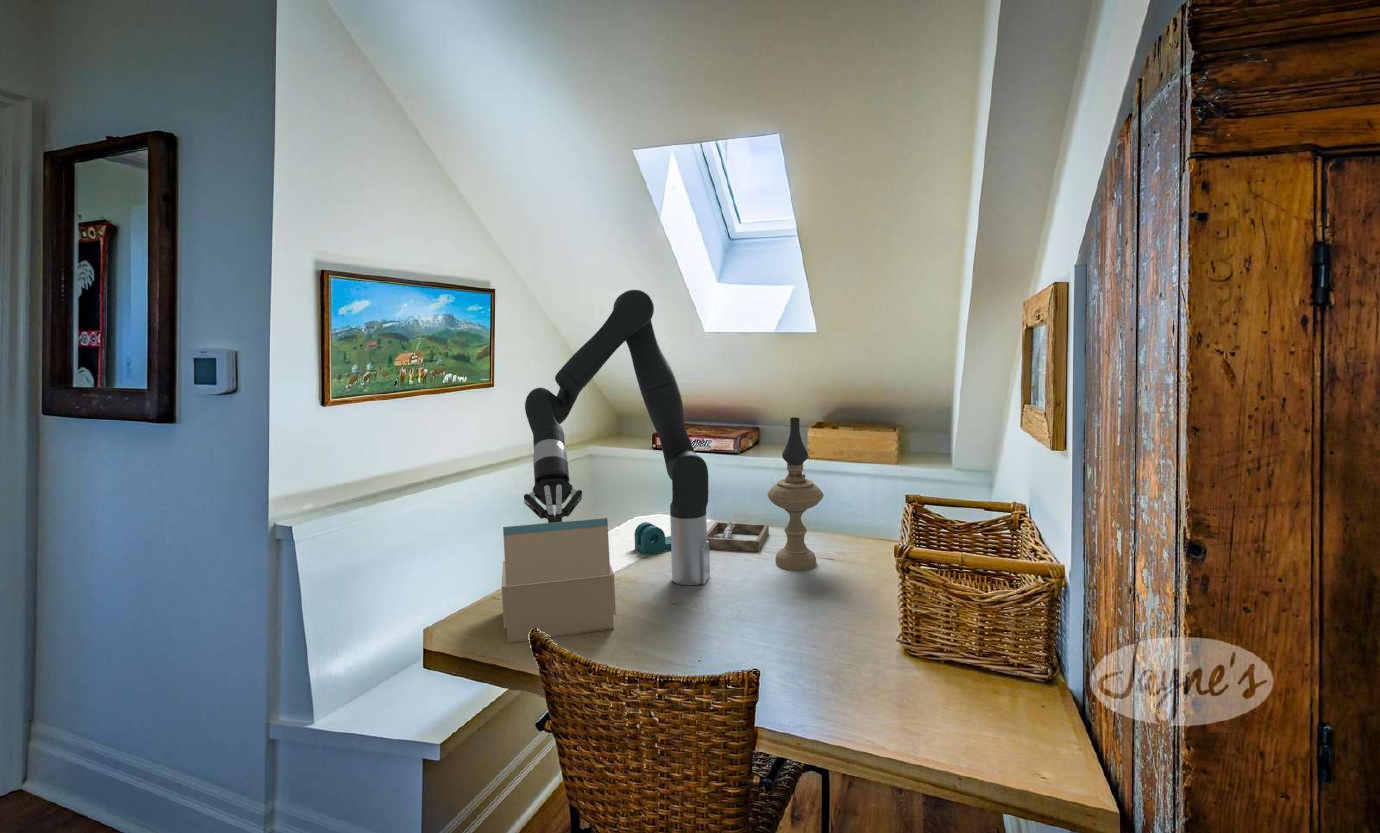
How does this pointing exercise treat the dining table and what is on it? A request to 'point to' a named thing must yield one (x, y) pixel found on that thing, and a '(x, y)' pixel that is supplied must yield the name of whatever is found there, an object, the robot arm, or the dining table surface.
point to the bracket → (651, 539)
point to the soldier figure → (726, 531)
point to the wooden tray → (738, 543)
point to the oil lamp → (795, 503)
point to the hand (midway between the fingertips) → (556, 533)
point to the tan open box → (558, 606)
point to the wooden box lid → (556, 551)
